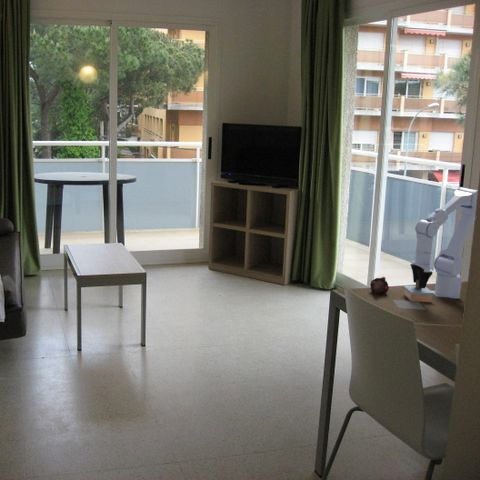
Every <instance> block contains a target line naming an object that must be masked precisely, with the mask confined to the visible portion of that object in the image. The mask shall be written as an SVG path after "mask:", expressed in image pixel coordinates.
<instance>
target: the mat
mask: <svg viewBox="0 0 480 480" xmlns="http://www.w3.org/2000/svg"><path fill="white" fill-rule="evenodd" d="M392 302H393V303H394V305H395V306H396V307H397V308H398V309H403V310H421V311H422V310H425V311H426V308H425V307H424V306H423V305H422V304H421V303H420V302H419V301H410V300H402V299H401V300H399V299H392Z"/></svg>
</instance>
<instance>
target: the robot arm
mask: <svg viewBox="0 0 480 480" xmlns="http://www.w3.org/2000/svg"><path fill="white" fill-rule="evenodd" d="M477 191H478V189H471V188H465V187H462V186H460V187H458V188H456V190H455V191H454V192H453V196H452V197H451V199H450V200H448V202H447V203H445V204H444V206H443V207H442V208H436V209H435V210H434V211H433V212H431V214H430V215H428V216H427V217H426V218H424V219H421V220H420V221H418V222H417V224H416V226H415V227H414V229H415V230H414V231H415V233H416V237H415V238H416V239H417V241H416V245H415V246H416V248H415V255H414V256H415V257H414V259H413V260H411V263H410V268H411V270H412V280H413V281H412V282H413V283H415V284H416V280H419V288H424V289H425V287H427V284H428V281H429V279H430V278H431V276H433V271H431V259H432V257H431V255H432V250H433V249H432V248H433V242H434V237H435V236H437V234H438V231H439V229H440V227H441V226H442V225H444V224H445V223H446V222H447V220H448V219H449V215H451V214H453V212H454V211H455V210H457V209H458V208H459V210H461V212H462V213H461V216H460V218H459V221H458V223H457V224H456V227H455V229H454V232H453V233H452V236H451V239H449V240H450V241H449V243H448V245H447V248H445V249H443V250H440V251H439V253H438V254H437V256H436V257H435V258H434V261H433V268H434V270H435V273H436V278H435V286H434V290H431V291H432V292H433V293H434V295H435V296H436V297H437V298H438V297H440V298H450V299H459V300H460V298H461V290H462V281H463V280H462V276H461V275H460V273H461V271H462V269H463V268H462V267H463V263H464V259H463V257H462V255H461V252H462V250H463V248H464V245H465V243H466V241H467V238H468V236H469V234H470V232H471V230H472V227H473V225H474V223H475V221H474V220H476V218H475V210H476V199H477Z"/></svg>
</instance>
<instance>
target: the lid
mask: <svg viewBox="0 0 480 480" xmlns="http://www.w3.org/2000/svg"><path fill="white" fill-rule="evenodd" d="M402 288H403V290H404V291H405V290H407V291H408V292H409V293H410V294H415V295H432V296H434V295H435V294H434V293H433V292H432V291H433V290H431V289H430V288H428V287H427V286H426V287H425V289H424V288H419V280H416V283H415V285H402Z"/></svg>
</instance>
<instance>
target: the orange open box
mask: <svg viewBox="0 0 480 480" xmlns="http://www.w3.org/2000/svg"><path fill="white" fill-rule="evenodd" d="M404 296H405V297H406V298H407V300H408V301H418V302H419V303H420V302H421V303H424V302H425V303H432V302H431V301H432V296H433V295H415V294H410V293H409V292H408V291H407V290H405V289H404Z"/></svg>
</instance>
